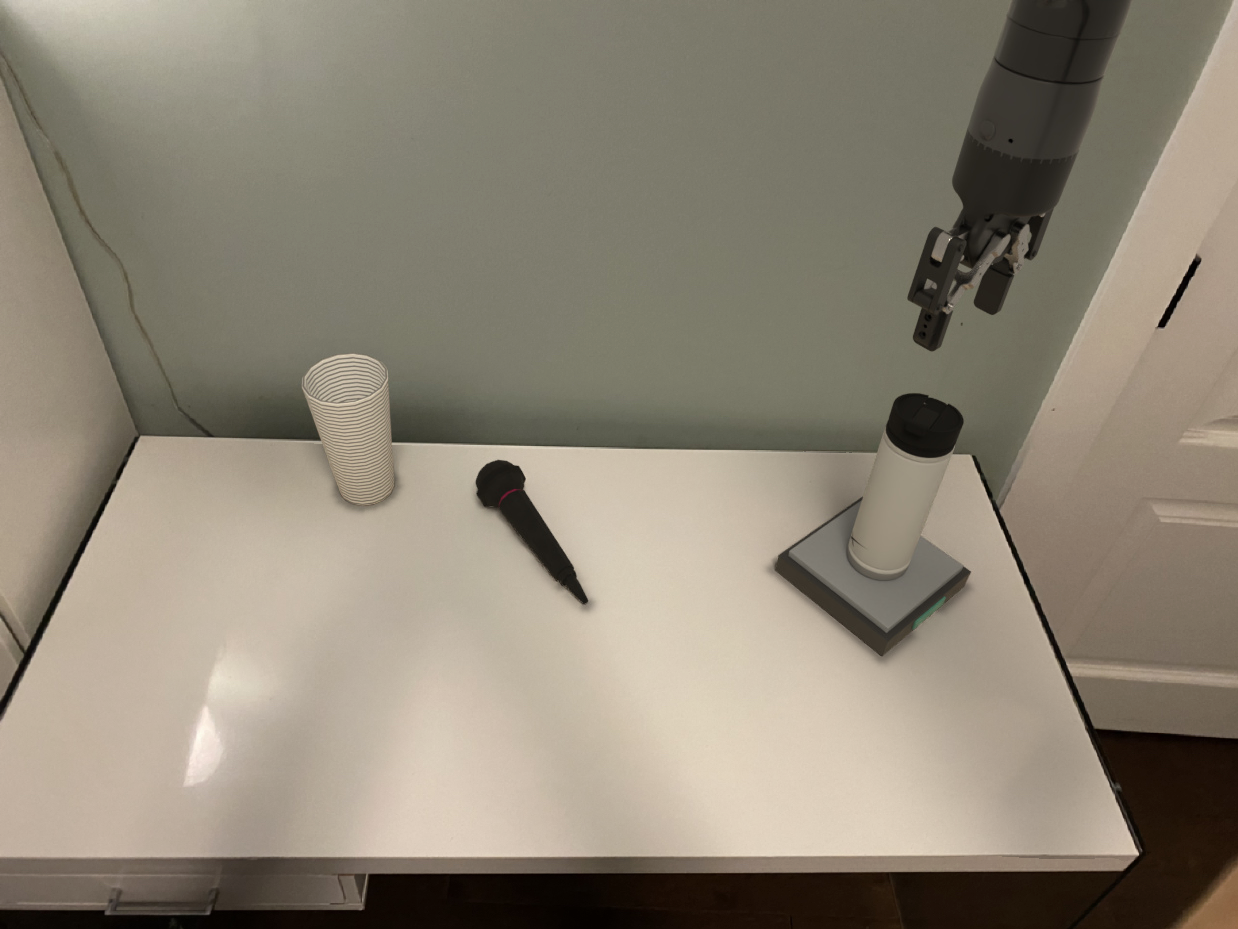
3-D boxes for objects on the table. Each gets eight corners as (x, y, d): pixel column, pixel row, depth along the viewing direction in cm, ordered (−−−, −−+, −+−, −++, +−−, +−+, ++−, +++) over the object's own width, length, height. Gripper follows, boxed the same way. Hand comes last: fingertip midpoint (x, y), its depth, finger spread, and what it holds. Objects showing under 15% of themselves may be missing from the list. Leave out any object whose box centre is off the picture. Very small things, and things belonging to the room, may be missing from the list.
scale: (966, 587, 95) (975, 567, 93) (883, 658, 88) (891, 638, 86) (858, 510, 103) (864, 490, 100) (774, 570, 96) (779, 549, 93)
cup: (380, 523, 98) (358, 412, 88) (312, 501, 100) (283, 390, 90) (420, 473, 104) (404, 364, 94) (356, 453, 106) (333, 344, 96)
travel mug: (834, 565, 92) (881, 412, 79) (861, 527, 96) (909, 376, 83) (892, 594, 90) (951, 441, 76) (917, 553, 94) (977, 402, 80)
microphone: (596, 613, 94) (501, 483, 104) (616, 576, 91) (516, 445, 101) (554, 627, 91) (460, 490, 101) (573, 589, 87) (474, 452, 97)
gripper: (1017, 178, 57) (944, 382, 68) (1126, 125, 65) (1044, 318, 76) (918, 137, 62) (865, 336, 73) (1031, 91, 69) (966, 279, 80)
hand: (956, 327), depth 74 cm, fingers open, 8 cm apart
